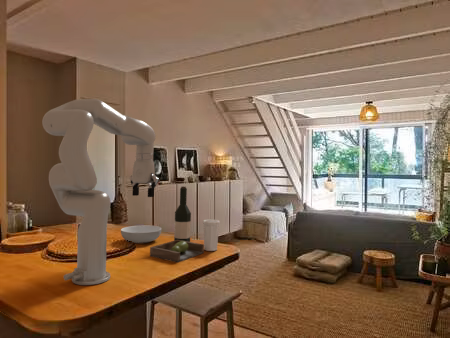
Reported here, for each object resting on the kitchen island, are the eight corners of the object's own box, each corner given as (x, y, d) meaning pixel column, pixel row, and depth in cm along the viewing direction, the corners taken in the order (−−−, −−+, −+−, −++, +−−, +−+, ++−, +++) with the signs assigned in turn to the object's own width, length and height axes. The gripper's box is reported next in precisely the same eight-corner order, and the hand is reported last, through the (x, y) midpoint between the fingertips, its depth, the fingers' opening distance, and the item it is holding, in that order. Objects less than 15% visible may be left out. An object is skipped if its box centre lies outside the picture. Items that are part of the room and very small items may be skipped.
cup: (210, 247, 168) (211, 218, 168) (222, 250, 163) (223, 221, 162) (198, 249, 163) (199, 220, 162) (210, 253, 157) (211, 222, 157)
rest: (177, 262, 141) (177, 253, 141) (149, 256, 149) (150, 247, 149) (203, 253, 157) (203, 244, 157) (177, 247, 165) (177, 239, 165)
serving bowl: (149, 235, 191) (150, 223, 191) (168, 242, 175) (168, 229, 175) (114, 240, 178) (114, 227, 178) (130, 248, 162) (131, 234, 161)
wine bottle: (191, 243, 174) (193, 186, 174) (188, 247, 166) (189, 187, 166) (176, 242, 175) (177, 185, 175) (171, 246, 167) (173, 186, 166)
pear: (190, 240, 154) (176, 248, 145) (191, 251, 155) (177, 259, 146) (180, 238, 157) (166, 246, 148) (181, 249, 157) (167, 257, 149)
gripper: (124, 157, 150) (123, 195, 150) (152, 157, 141) (150, 198, 140) (137, 158, 157) (136, 194, 156) (164, 158, 147) (163, 197, 147)
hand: (143, 196), depth 148 cm, fingers open, 9 cm apart
